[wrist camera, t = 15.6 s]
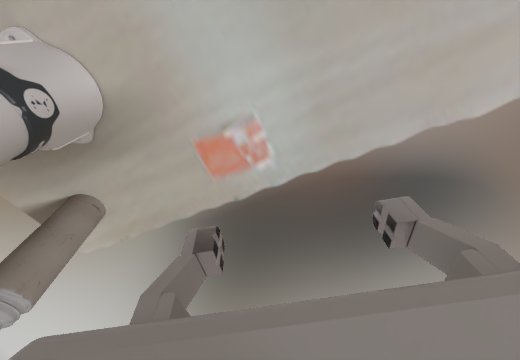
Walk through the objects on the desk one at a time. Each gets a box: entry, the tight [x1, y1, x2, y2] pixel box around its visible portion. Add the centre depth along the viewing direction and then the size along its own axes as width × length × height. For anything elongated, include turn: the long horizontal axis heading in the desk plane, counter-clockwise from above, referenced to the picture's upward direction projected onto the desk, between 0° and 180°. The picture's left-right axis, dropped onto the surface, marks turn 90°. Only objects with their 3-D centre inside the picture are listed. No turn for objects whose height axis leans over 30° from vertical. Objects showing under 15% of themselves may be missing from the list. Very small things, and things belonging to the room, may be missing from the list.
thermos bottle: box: [0, 194, 105, 330], centre depth 41 cm, size 8×8×28 cm
